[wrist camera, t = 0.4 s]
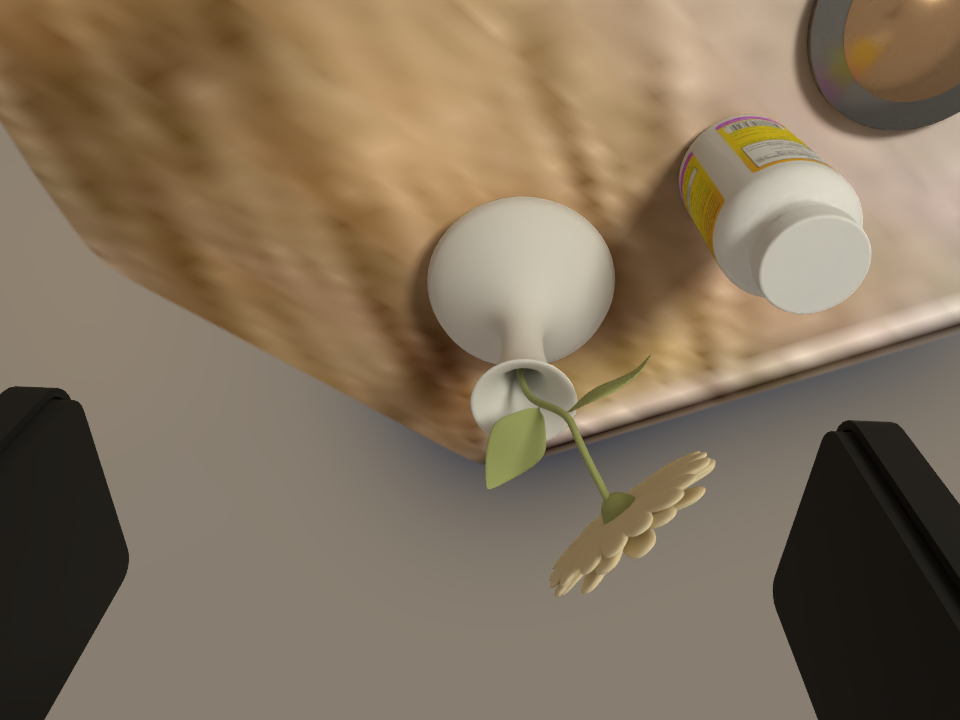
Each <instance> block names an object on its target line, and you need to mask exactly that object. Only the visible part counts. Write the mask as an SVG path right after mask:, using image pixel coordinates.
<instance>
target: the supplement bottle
mask: <svg viewBox="0 0 960 720" xmlns="http://www.w3.org/2000/svg"><path fill="white" fill-rule="evenodd" d="M679 189H680V194H681V198H682V200H683V203H684V205H685V207H686V209H687V211H688V212H689V214H690V216H691V218H692V219H693V221H694V223H695V225H696V226H697V228H698V230H699V232H700V233H701V235H702V237H703V239H704V241H705V242H706V244H707V246H708V247H709V249H710V251H711V252H712V254H713V256H714V258H715V260H716V261H717V263H718V265H719V267H720V268H721V270H722V271H723V273H724V274H725V275H726V277H727V278H728V279H729V280H730V281H731V282H732V283H734V284H735V285H736V286H737V287H739V288H740V289H742V290H744V291H746V292H748V293H750V294H753V295H756V296H760V297H764V298H766V299H767V300H768V301H769V302H770V303H771V304H772V305H774V306H775V307H777V308H779V309H781V310H783V311H786V312H790V313H795V314H811V313H816V312H820V311H823V310H826V309H829V308H831V307H833V306H836V305H837V304H839V303H841V302H842V301H844V300H845V299H846V298H848V297H849V296H850V295H851V294H852V293H853V292H854V291H855V290H856V289H857V288H858V287H859V286H860V284H861V283H862V281H863V280H864V278H865V276H866V274H867V272H868V269H869V266H870V262H871V245H870V242H869V239H868V237H867V235H866V233H865V232H864V230H863V229H862V227H863V214H862V208H861V204H860V201H859V198H858V196H857V194H856V192H855V190H854V189H853V187H852V186H851V185H850V184H849V183H848V181H847V180H846V179H845V178H843V177H842V176H841V175H840V174H839V173H838V172H837V171H836V170H835V169H833V168H832V167H831V166H830V165H828V164H827V163H826V162H825V161H824V160H823V159H821V158H820V157H819V156H818V155H817V154H816V153H815V152H813V151H812V150H811V149H810V148H809V147H808V146H806V145H805V144H804V143H803V142H802V141H801V140H799V139H798V138H797V137H796V136H795V135H793V134H792V133H791V132H790V131H789V130H787V129H786V128H785V127H784V126H782V125H781V124H779V123H777V122H776V121H774V120H772V119H769V118H766V117H763V116H758V115H739V116H734V117H730V118H726V119H724V120H722V121H719V122H717V123H715V124H714V125H712V126H710V127H709V128H707V129H706V130H705V131H704V132H702V133H701V134H700V135H699V136H698V137H697V138H696V140H695V141H694V142H693V143H692V144H691V146H690V147H689V149H688V151H687V152H686V154H685V156H684V159H683V161H682V164H681V168H680V173H679Z"/></svg>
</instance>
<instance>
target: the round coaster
mask: <svg viewBox="0 0 960 720" xmlns="http://www.w3.org/2000/svg"><path fill="white" fill-rule="evenodd" d="M807 51H808V60H809V65H810V69H811V72H812V75H813V78H814V81H815V83H816V85H817V87H818V89H819V90H820V92H821V93H822V95H823V96H824V97H825V99H826V100H827V101H828V102H829V103H830V104H831V105H832V106H833V107H834V108H835V109H836V110H838V111H839V112H841V113H842V114H844V115H845V116H847V117H848V118H850V119H851V120H853V121H855V122H857V123H859V124H862V125H864V126H868V127H871V128H875V129H883V130H906V129H914V128H919V127H923V126H927V125H931V124H933V123H936V122H939V121H941V120H944V119H946V118H948V117H950V116H952V115H954V114H956V113H958V112H960V0H815V2H814V5H813V8H812V11H811V16H810V20H809V25H808V36H807Z"/></svg>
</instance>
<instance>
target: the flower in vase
mask: <svg viewBox="0 0 960 720" xmlns="http://www.w3.org/2000/svg"><path fill="white" fill-rule="evenodd" d="M427 287H428V295H429V300H430V304H431V306H432V309H433V312H434V314H435V316H436V318H437V320H438V322H439V323H440V325H441V326H442V328H443V329H444V330H445V332H446V333H447V335H448V336H449V337H450V338H451V339H452V340H453V341H454V342H455V343H456V344H457V345H458V346H460V347H461V348H462V349H463V350H465V351H466V352H468V353H469V354H471V355H473V356H475V357H477V358H479V359H481V360H483V361H486V362H489V363H492V364H496V366H494V367H492V368H491V369H489V370H488V371H487V372H485V373H484V374H483V375H482V376H481V378H480V379H479V380H478V381H477V383H476V384H475V387H474V389H473V391H472V395H471V411H472V414H473V417H474V419H475V421H476V423H477V424H478V425H479V427H480V428H481V429H482V430H483V431H484V432H485V433H487V434H488V435H489V439H488V443H487V449H486V463H485V467H486V468H485V469H486V484H487V489H492V488H494V487H497V486H499V485H501V484H503V483H505V482H507V481H509V480H511V479H513V478H515V477H516V476H518V475H520V474H522V473H524V472H525V471H527V470H528V469H530V468H531V467H532V466H534V465H535V464H536V463H537V462H538V461H539V460H540V459H541V458H542V457H543V455H544V453H545V450H546V441H548V440H551V439H553V438H554V437H556V436H558V435H559V434H561V433H562V432H563V431H564V430H565V429H566V428H567V427H568V426H569V428H570V430H571V432H572V435H573V437H574V439H575V442H576V444H577V446H578V449H579V451H580V453H581V455H582V457H583V459H584V461H585V463H586V465H587V467H588V470H589V472H590V473H591V476H592V477H593V479H594V481H595V483H596V485H597V487H598V489H599V491H600V493H601V495H602V497H603V499H604V501H603V503H602V507H601V513H602V514H601V515H600V516H599V517H597V518H596V519H595V520H594V521H593V522H592V523H591V524H589V526H588V527H587V528H586V529H585V530H584V531H583V532H582V533H581V535H580V536H579V537H578V538H577V539H576V540H575V541H574V542H573V543H572V544H571V545H570V546H569V547H568V549H567V550H566V551H565V552H564V553H563V554H562V555H561V557H560V558H559V559H558V560H557V562H556V563H555V564H554V566H553V570H554V571H553V573H552V574H551V576H550V579H549V580H550V581H551V583H550V588H553V587H555V586H556V585H557V584H558V586H557V589H556V591H555V597H559V596H563V595H564V594H566V593H567V592H568V591H569V590H570V589H571V588H572V587H573V586H574V585H575V584H576V583H577V582H578V581H579V580H580V578H581V577H582V576H583V575H586V576H585V578H584V580H583V583H582V586H581V593H582V594H587V593H589V592H591V591H592V590H593V589H594V588H595V587H596V586H597V585H598V584H599V583H600V581H601V580H602V579H603V577H604V575H605V574H606V573H608V572H609V571H611V570H612V569H613V568H614V567H615V566H616V565H617V563H618V562H619V559H620V558H621V555H622V552H624V553H625V555H627V556H628V557H630V558H632V559H638V558H640V557H642V556H644V555H645V554H646V553H648V552H649V551H650V550H651V549H652V548H653V546H654V544H655V542H656V535H655V532H654V530H653V529H655V528H658V527H661V526H663V525H664V524H666V523H668V522H669V521H670V520H672V519H673V518H674V517H675V515H676V513H677V511H678V510H680V509H683V508H685V507H687V506H689V505H691V504H693V503H695V502H696V501H698V500H699V499H700V498H701V497H702V496H703V495H704V493H705V488H704V487H694V488H689V489H686V488H687V487H689V486H690V485H692V484H693V483H695V482H696V481H698V480H700V479H701V478H703V477H704V476H706V475H707V474H708V473H710V472H711V471H712V470H713V469H714V467H715V460H713V459H710V458H705V457H706V456H707V453H705V452H702V453H700V452H699V451H696V452H692V453H690V454H688V455H686V456H684V457H682V458H680V459H677V460H675V461H673V462H671V463H670V464H668V465H666V466H665V467H663V468H662V469H660V470H659V471H656V472H655V473H653V474H652V475H651V476H649V477H648V478H647V479H645V480H644V481H643V482H641V483H640V484H638V485H636V486H635V487H634V488H632V489H631V490H630V491H629V492H627V493H622V492H615V493H612V494H609V492H608V490H607V488H606V486H605V484H604V482H603V480H602V478H601V477H600V475H599V473H598V471H597V469H596V467H595V465H594V463H593V461H592V459H591V457H590V455H589V453H588V451H587V448H586V446H585V444H584V442H583V440H582V437H581V435H580V433H579V430H578V428H577V426H576V424H575V422H574V420H573V418H574V416H575V413H576V409H578V408H580V407H582V406H584V405H586V404H588V403H590V402H593V401H595V400H597V399H599V398H602V397H604V396H606V395H608V394H610V393H612V392H614V391H616V390H617V389H619V388H621V387H623V386H624V385H626V384H627V383H629V382H630V381H631V380H633V379H634V378H635V377H636V376H637V375H638V374H639V373H640V372H641V371H642V369H643V368H644V366H645V365H646V363H647V361H648V359H649V357H650V356H649V357H648V358H647V359H646V360H645V361H644V362H643V363H642V364H641V365H640V366H639V367H638V368H636V369H635V370H633V371H632V372H630V373H628V374H626V375H624V376H622V377H620V378H617V379H615V380H612V381H610V382H607V383H605V384H602V385H600V386H598V387H596V388H595V389H593V390H591V391H590V392H589V393H587V394H586V395H585V396H584V397H583V398H581V399H580V400H579V401H578V402H577V395H576V391H575V388H574V386H573V384H572V383H571V381H570V380H569V379H568V377H567V376H566V375H565V374H564V373H563V372H562V371H560V370H559V369H558V368H556V367H555V366H553V365H551V364H549V363H551V362H554V361H557V360H560V359H562V358H564V357H566V356H568V355H570V354H571V353H573V352H574V351H576V350H577V349H579V348H580V347H581V346H583V345H584V344H585V343H586V342H587V341H588V340H589V339H590V338H591V337H592V336H593V335H594V333H595V332H596V331H597V329H598V328H599V327H600V325H601V323H602V322H603V320H604V318H605V316H606V315H607V313H608V310H609V308H610V305H611V303H612V299H613V295H614V288H615V270H614V265H613V260H612V257H611V254H610V251H609V249H608V247H607V245H606V243H605V241H604V239H603V238H602V236H601V235H600V234H599V232H598V231H597V230H596V228H595V227H594V226H593V225H592V224H591V223H590V222H589V221H588V220H587V219H585V218H584V217H583V216H581V215H580V214H579V213H577V212H576V211H574V210H572V209H570V208H568V207H567V206H564V205H562V204H559V203H557V202H554V201H550V200H546V199H543V198H535V197H509V198H502V199H498V200H494V201H490V202H488V203H485V204H483V205H480V206H478V207H476V208H474V209H472V210H471V211H469V212H467V213H466V214H464V215H463V216H462V217H460V218H459V219H458V220H456V221H455V222H454V223H453V224H452V225H451V226H450V227H449V228H448V229H447V231H446V232H445V233H444V234H443V236H442V237H441V238H440V240H439V242H438V244H437V245H436V247H435V249H434V252H433V254H432V257H431V259H430V264H429V268H428V276H427ZM650 355H651V354H650ZM684 489H686V490H684Z"/></svg>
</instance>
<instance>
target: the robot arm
mask: <svg viewBox="0 0 960 720" xmlns="http://www.w3.org/2000/svg"><path fill="white" fill-rule="evenodd" d="M128 563H129V553H128V549H127V545H126V542H125V539H124V536H123V533H122V529H121V526H120V523H119V520H118V517H117V514H116V510H115V507H114V504H113V501H112V498H111V495H110V491H109V488H108V485H107V482H106V479H105V476H104V473H103V469H102V466H101V463H100V460H99V457H98V454H97V451H96V447H95V444H94V441H93V438H92V435H91V432H90V428H89V425H88V422H87V419H86V416H85V413H84V410H83V408H82V405H81V404H80V403H79V402H78V401H74V400H71V399H70V397H69V395H68V394H67V393H66V392H65V391H64V390H62V389H59V388H43V387H18V386H15V387H10V388H8V389H7V390H5V391H4V392H2V393H1V394H0V720H44V719H45V718H46V716H47V714H48V712H49V711H50V709H51V707H52V705H53V704H54V702H55V700H56V698H57V696H58V695H59V693H60V691H61V689H62V688H63V686H64V684H65V682H66V681H67V679H68V677H69V675H70V674H71V672H72V670H73V668H74V666H75V665H76V663H77V661H78V660H79V658H80V656H81V654H82V653H83V651H84V649H85V647H86V645H87V644H88V642H89V640H90V638H91V637H92V635H93V633H94V631H95V630H96V628H97V626H98V624H99V623H100V621H101V619H102V617H103V616H104V614H105V612H106V610H107V609H108V607H109V605H110V603H111V601H112V600H113V598H114V596H115V594H116V593H117V591H118V589H119V587H120V586H121V584H122V582H123V580H124V578H125V576H126V573H127V569H128ZM773 599H774V604H775V607H776V611H777V613H778V616H779V619H780V621H781V624H782V626H783V629H784V632H785V634H786V637H787V639H788V642H789V645H790V647H791V650H792V653H793V655H794V658H795V661H796V663H797V666H798V668H799V671H800V673H801V676H802V678H803V681H804V684H805V687H806V689H807V692H808V694H809V697H810V700H811V702H812V705H813V707H814V710H815V713H816V715H817V718H818V720H960V504H959V503H958V502H957V500H956V499H955V498H954V496H953V495H952V494H951V492H950V491H949V490H948V488H947V487H946V486H945V484H944V483H943V482H942V480H941V479H940V478H939V477H938V476H937V474H936V472H935V471H934V470H933V469H932V467H931V466H930V465H929V463H928V462H927V461H926V459H925V458H924V457H923V455H922V454H921V453H920V451H919V450H918V449H917V447H916V446H915V445H914V443H913V442H912V441H911V439H910V438H909V437H908V435H907V434H906V433H905V431H904V430H903V429H902V428H901V427H900V426H899V425H898V424H896V423H893V422H876V421H875V422H874V421H853V420H852V421H851V420H848V421H845V422H842V424H841V425H840V426H839V427H838V429H837V431H830V432H827V433H826V434H825V435H824V437H823V439H822V442H821V444H820V447H819V450H818V453H817V456H816V459H815V462H814V465H813V467H812V471H811V474H810V476H809V479H808V482H807V485H806V488H805V491H804V494H803V496H802V500H801V503H800V505H799V508H798V511H797V514H796V517H795V520H794V522H793V526H792V528H791V531H790V534H789V537H788V540H787V543H786V546H785V549H784V552H783V554H782V557H781V560H780V563H779V566H778V569H777V572H776V575H775V578H774V582H773Z"/></svg>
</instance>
